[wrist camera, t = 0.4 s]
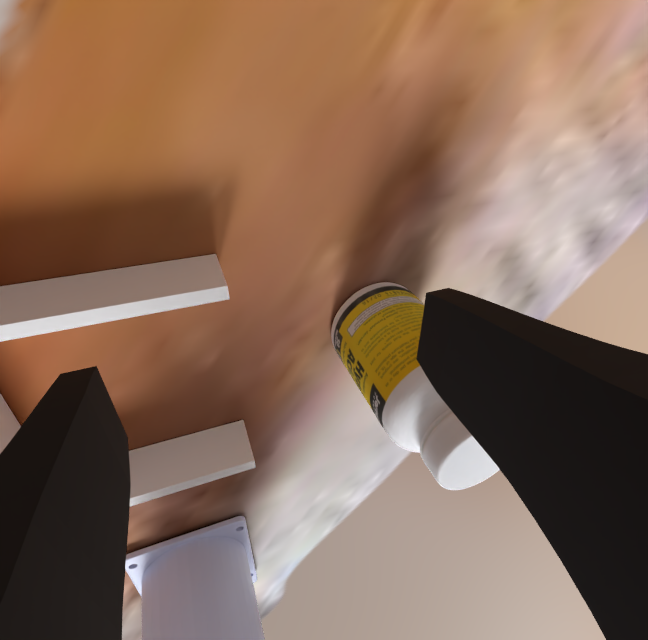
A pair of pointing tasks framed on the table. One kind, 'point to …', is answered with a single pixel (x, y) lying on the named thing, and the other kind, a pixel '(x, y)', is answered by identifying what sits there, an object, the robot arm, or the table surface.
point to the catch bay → (119, 303)
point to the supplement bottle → (405, 383)
